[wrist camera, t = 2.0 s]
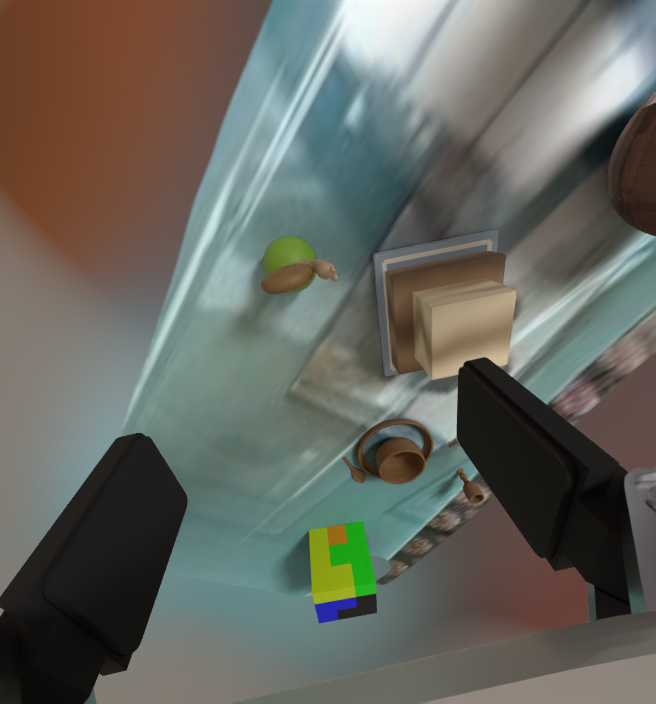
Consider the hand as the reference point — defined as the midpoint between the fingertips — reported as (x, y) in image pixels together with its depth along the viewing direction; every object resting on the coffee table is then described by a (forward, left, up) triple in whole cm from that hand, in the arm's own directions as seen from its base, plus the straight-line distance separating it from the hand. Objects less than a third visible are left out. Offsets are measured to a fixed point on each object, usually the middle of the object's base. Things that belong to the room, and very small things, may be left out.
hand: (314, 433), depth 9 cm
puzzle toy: (+52, -4, -27) cm, 59 cm away
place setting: (+34, +11, -27) cm, 45 cm away
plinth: (+8, +15, -26) cm, 31 cm away
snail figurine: (-1, 0, -27) cm, 27 cm away
